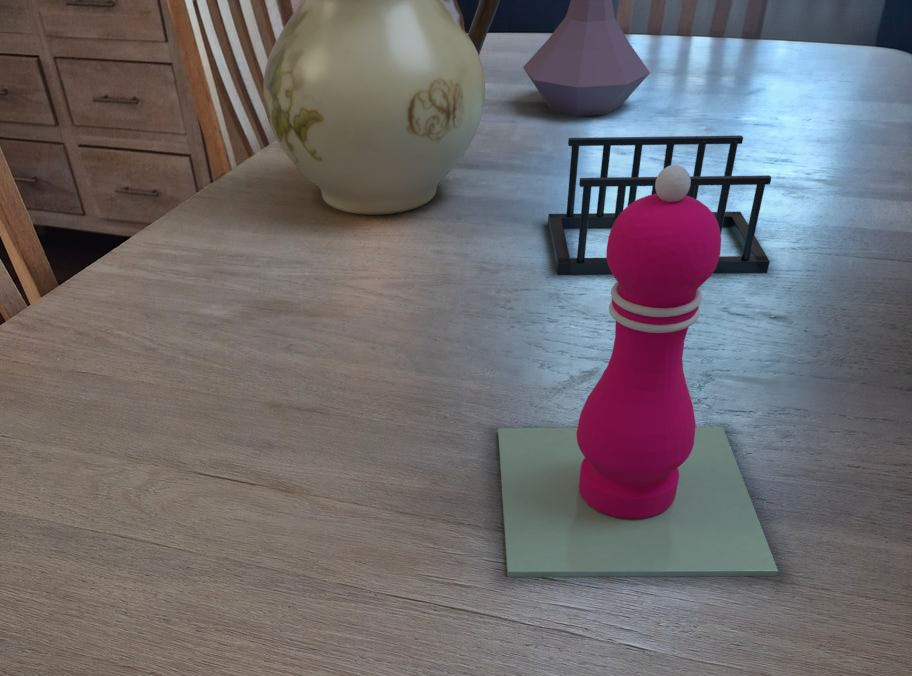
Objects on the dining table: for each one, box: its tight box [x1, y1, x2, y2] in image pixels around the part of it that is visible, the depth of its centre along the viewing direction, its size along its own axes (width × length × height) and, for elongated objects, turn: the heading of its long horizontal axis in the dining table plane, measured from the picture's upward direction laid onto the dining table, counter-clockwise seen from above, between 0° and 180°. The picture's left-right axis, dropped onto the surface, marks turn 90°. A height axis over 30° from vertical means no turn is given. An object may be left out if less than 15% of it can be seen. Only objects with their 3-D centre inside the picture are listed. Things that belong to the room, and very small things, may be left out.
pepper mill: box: [576, 164, 722, 519], centre depth 55 cm, size 7×7×20 cm
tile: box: [497, 426, 779, 578], centre depth 62 cm, size 16×16×1 cm
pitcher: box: [262, 0, 501, 216], centre depth 95 cm, size 22×24×25 cm
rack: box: [547, 135, 772, 276], centre depth 89 cm, size 19×12×8 cm, turn 89°
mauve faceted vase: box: [522, 0, 651, 118], centre depth 119 cm, size 16×16×20 cm
